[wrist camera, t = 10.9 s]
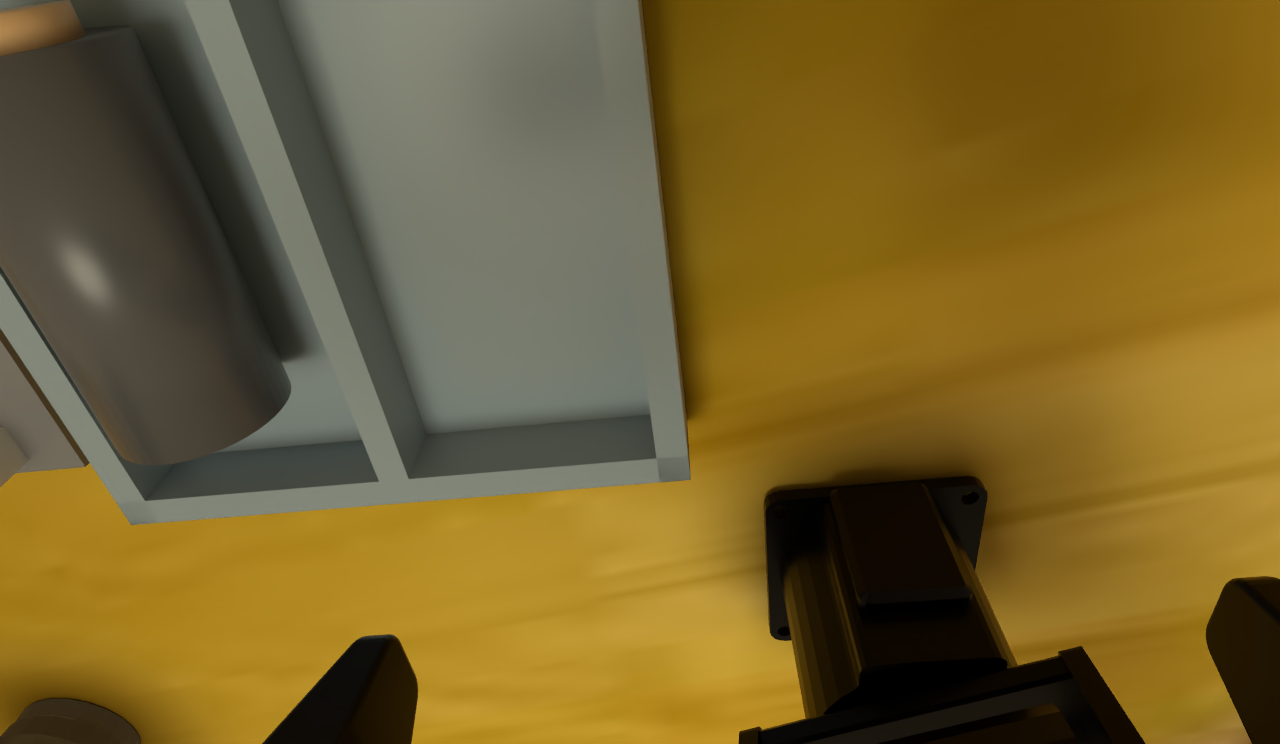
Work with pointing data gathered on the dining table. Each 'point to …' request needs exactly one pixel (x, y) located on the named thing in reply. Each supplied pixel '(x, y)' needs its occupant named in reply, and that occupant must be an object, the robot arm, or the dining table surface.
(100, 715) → the beverage cup
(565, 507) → the dining table surface
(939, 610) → the robot arm
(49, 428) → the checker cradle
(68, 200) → the battery cell
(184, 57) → the cell tray
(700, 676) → the dining table surface
